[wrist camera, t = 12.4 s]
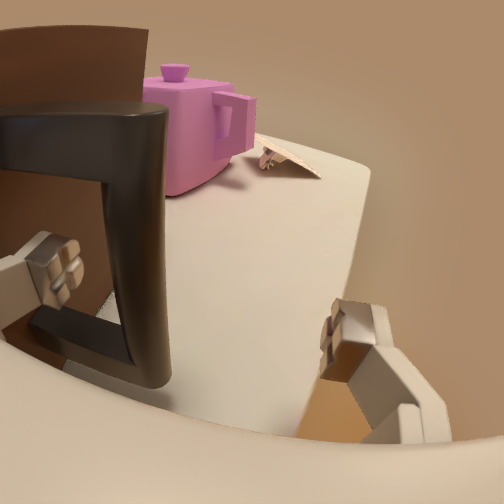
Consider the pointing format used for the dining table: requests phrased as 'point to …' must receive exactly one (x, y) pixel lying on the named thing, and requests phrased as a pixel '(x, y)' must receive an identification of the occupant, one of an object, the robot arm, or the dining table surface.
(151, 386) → the cupboard door
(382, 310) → the robot arm
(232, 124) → the teakettle
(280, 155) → the tan tilted flat slab
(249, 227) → the dining table surface
